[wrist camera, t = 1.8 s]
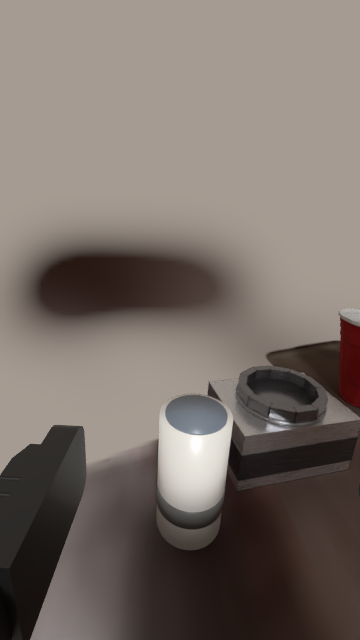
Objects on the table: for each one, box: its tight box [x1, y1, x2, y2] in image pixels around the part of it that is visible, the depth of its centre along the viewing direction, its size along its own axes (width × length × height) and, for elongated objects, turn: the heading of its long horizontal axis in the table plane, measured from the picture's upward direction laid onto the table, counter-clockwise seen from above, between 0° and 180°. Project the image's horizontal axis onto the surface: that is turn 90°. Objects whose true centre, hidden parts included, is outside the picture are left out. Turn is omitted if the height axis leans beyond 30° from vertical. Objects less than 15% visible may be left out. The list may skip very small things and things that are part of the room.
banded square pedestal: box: [208, 366, 360, 491], centre depth 32 cm, size 12×9×8 cm
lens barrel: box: [156, 394, 233, 550], centre depth 23 cm, size 5×5×10 cm
